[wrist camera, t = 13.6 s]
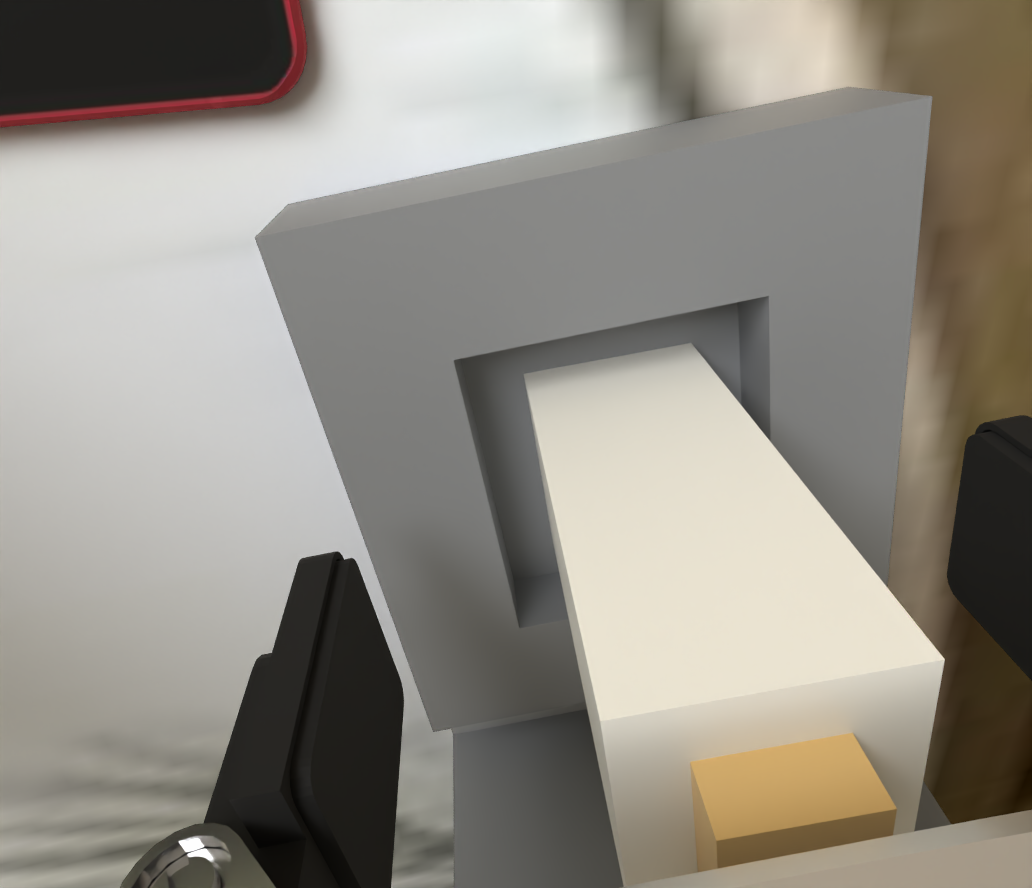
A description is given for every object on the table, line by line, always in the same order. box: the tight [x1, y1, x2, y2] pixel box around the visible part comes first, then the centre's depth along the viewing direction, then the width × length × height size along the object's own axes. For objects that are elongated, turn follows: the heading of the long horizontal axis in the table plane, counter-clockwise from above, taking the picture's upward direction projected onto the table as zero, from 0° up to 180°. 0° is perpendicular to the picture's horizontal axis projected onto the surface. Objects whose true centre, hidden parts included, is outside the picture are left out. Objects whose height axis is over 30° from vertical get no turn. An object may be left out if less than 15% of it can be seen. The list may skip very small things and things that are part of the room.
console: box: [255, 87, 951, 888], centre depth 15 cm, size 24×10×8 cm, turn 11°
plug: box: [524, 343, 945, 887], centre depth 11 cm, size 4×3×9 cm
